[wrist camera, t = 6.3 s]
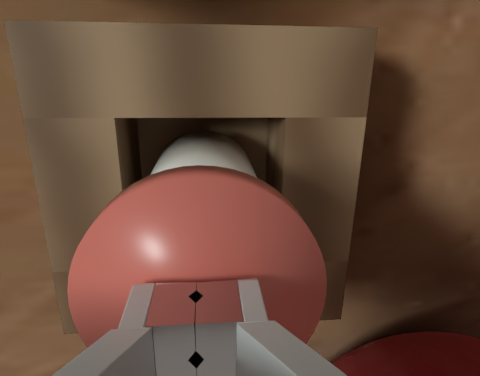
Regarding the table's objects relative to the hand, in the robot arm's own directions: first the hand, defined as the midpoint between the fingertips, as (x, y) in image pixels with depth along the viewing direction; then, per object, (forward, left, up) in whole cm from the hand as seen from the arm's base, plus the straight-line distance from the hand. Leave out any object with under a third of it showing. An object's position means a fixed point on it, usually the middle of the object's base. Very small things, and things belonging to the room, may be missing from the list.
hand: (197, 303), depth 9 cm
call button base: (0, 0, -12) cm, 12 cm away
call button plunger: (0, 0, -10) cm, 10 cm away
